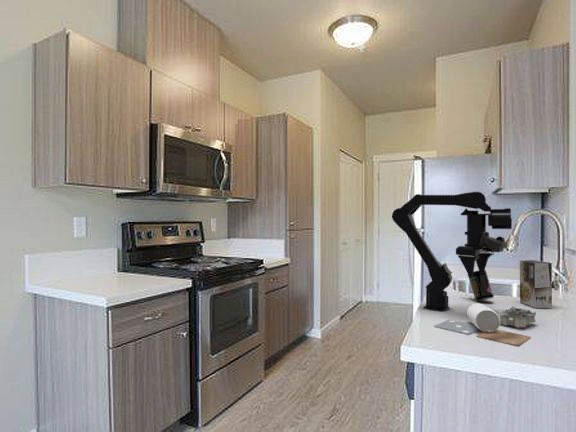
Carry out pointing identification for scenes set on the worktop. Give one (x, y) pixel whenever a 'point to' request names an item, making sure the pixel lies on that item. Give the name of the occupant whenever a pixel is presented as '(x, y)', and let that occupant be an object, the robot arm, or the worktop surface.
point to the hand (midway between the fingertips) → (476, 274)
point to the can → (483, 317)
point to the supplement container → (481, 286)
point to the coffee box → (536, 283)
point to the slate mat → (457, 327)
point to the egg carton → (517, 317)
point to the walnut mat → (505, 337)
